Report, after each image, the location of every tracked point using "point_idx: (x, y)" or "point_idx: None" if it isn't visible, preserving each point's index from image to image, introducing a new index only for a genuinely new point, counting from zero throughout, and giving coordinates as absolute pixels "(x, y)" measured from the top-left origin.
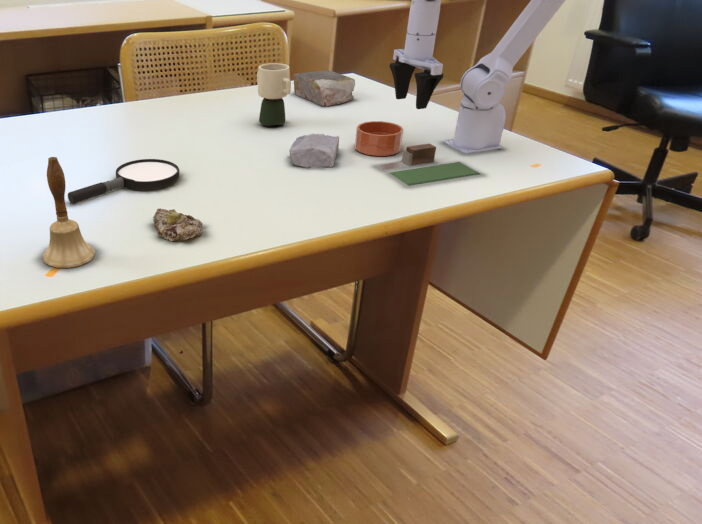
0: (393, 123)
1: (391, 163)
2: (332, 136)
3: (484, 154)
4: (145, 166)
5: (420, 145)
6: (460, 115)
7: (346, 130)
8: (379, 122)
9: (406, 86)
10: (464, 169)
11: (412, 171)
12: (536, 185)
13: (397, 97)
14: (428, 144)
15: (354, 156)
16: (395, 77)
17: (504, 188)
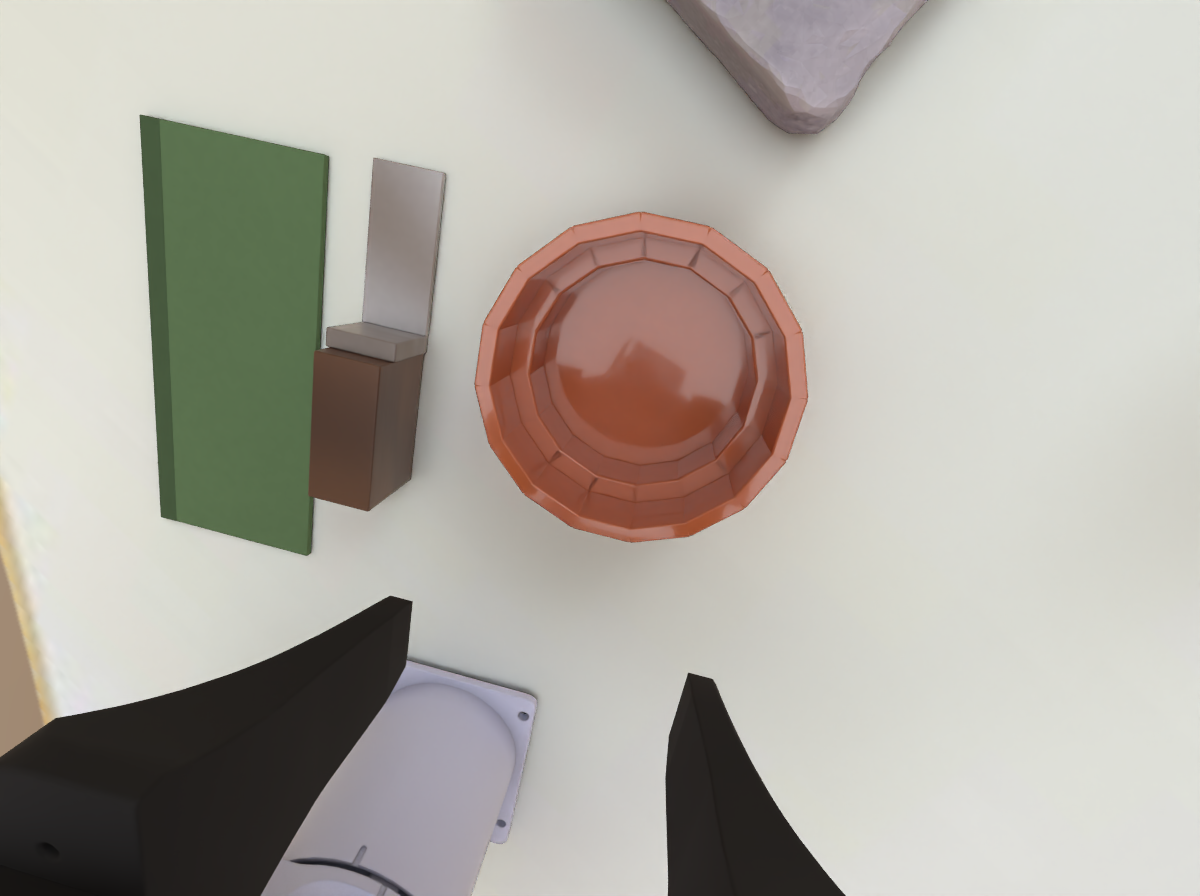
0: (657, 538)
1: (427, 269)
2: (824, 41)
3: None
4: None
5: (361, 445)
6: (399, 817)
7: (1035, 469)
8: (741, 488)
9: (674, 825)
10: (224, 502)
11: (291, 281)
12: (29, 592)
13: (688, 680)
14: (355, 492)
15: (648, 177)
16: (742, 826)
17: (31, 479)
